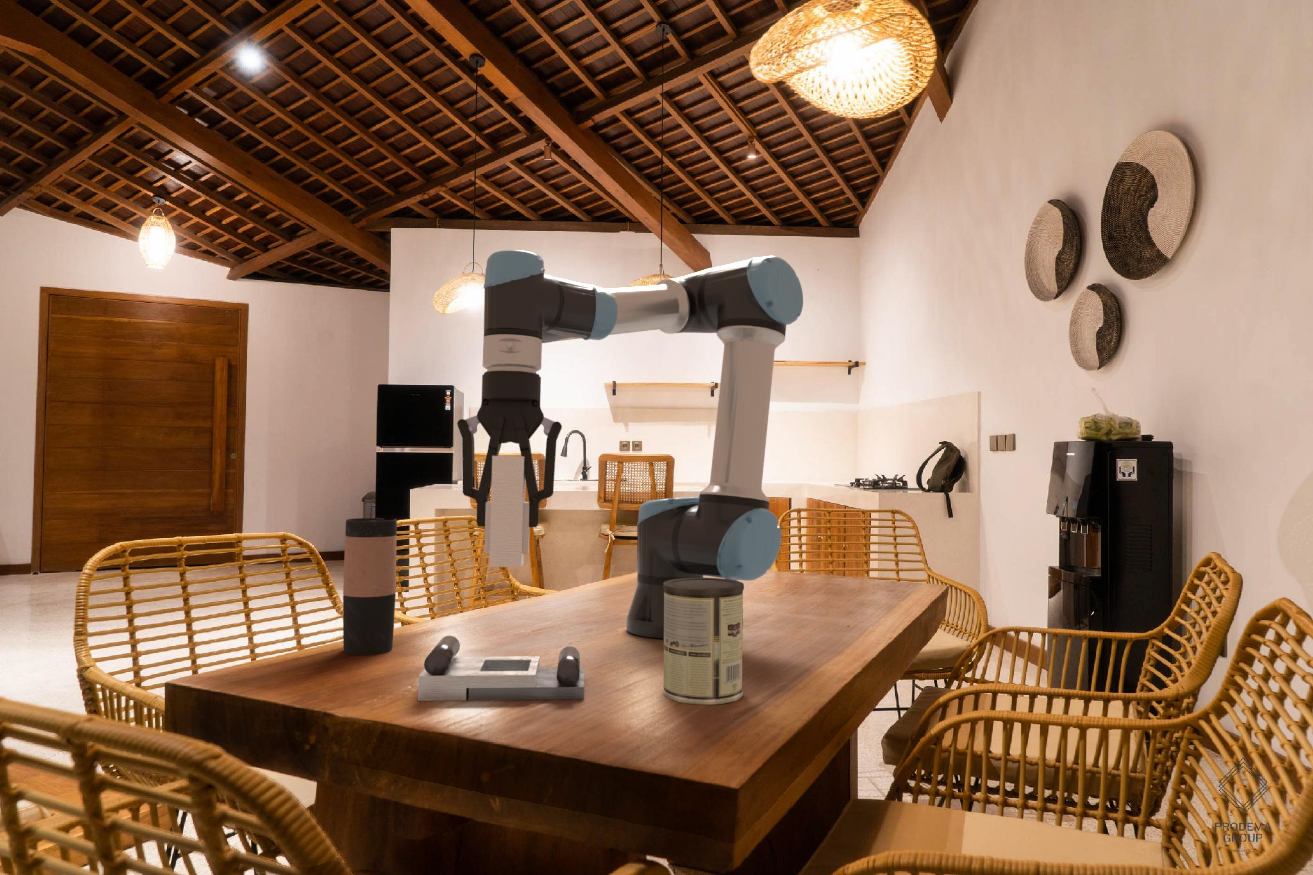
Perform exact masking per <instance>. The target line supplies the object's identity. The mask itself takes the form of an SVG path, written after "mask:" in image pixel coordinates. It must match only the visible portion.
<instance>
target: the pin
mask: <svg viewBox="0 0 1313 875" xmlns="http://www.w3.org/2000/svg"><path fill="white" fill-rule="evenodd" d="M524 461H525V457H524V456H521V455H519V456H515V455H498V456H492V484H491V488H490V492H491V493H490V495H491V496H490V501H491V521H490V554H489V561H488V562H489V563H488V566H489V567H490V568H522V567H523V565H524V562H525V561H524V557H525V554H522V534H523V503H524V502H526V489H527V485H526V479H525V474H524Z"/></svg>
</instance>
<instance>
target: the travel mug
mask: <svg viewBox="0 0 1313 875" xmlns="http://www.w3.org/2000/svg"><path fill="white" fill-rule="evenodd" d="M397 522H398V520H397V518H394V519H392V520H391V519H390V520H385V519H384V518H381V517H360V518H359V517H358V518H347V519H346V520H345V536H344V538H345V539H344V558H343V586H342V588H343V589H342V594H343V595H342V610H343V611H342V614H343V615H342V619H343V620H342V622H343V624H342V626H343V629H342V630H343V631H342V634H343V636H342V637H343V638H342V640H343V648H342V649H343V652H344V653H345V654H347V655H354V656H370V655H378V654H379V655H380V654H385V653H388V652H390V651H392V649H393V647H394V646H393V642H394V629H395V612H396V610H395V609H396V593H397V592H396V590H397V589H396V588H397V584H396V582H397V539H398V537H397V535H398V534H397V529H398V526H397V524H398V523H397Z"/></svg>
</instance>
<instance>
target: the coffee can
mask: <svg viewBox="0 0 1313 875" xmlns="http://www.w3.org/2000/svg"><path fill="white" fill-rule="evenodd" d="M663 588H664V638H663V686H662V687H663V689H662V694H663V696H664V697H665V698H667V699H669V700H671V701H674V702H677V703H683V704H689V705H701V706H704V705H705V706H707V705H708V706H711V705H712V706H713V705H723V704H725V705H726V704H729V703H733V702H736V701H738V700H740V699H741V698H742V697H743V696H744V693H743V692H744V691H743V638H744V637H743V636H744V635H743V628H744V622H743V621H744V615H743V614H744V607H743V606H744V602H743V600H744V598H743V597H744V595H743V594H744V593H743V592H744V589H745V584H744V582H742V581H740V580H737V581H736V580H730V579H725V578H718V577H703V578H679V579H672V580H668V581H665V582H664V583H663Z"/></svg>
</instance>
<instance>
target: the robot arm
mask: <svg viewBox="0 0 1313 875" xmlns="http://www.w3.org/2000/svg"><path fill="white" fill-rule="evenodd" d="M544 262H545V261H544V259H543V258H542V256H540V255H538V254H536V253H535V252H533V251H527V250H522V249H504V250H503V249H502V250H499V251H496V252H492V254H490V255H489V256H488V258H487V259H486V267H485V274H484V276H485V277H484V282H483V283H484V284H483V289H484V300H483V301H484V302H483V306H484V307H483V310H484V312H483V317H484V318H483V340H482V341H483V344H482V345H483V346H482V347H483V348H482V367H483V369H485V370H486V371H485V372H483V374H482V376H481V378H482V379H481V405H480V407H479V409H478V410H477V414H476V415H474V416H471V417H469V418H466V419H464V418H462V419H461V418H460V419H458V421H457V423H456V425H457V428H458V431H459V433H460V435H461V438H462V439H461V443H462V444H461V448H462V449H461V452H462V456H461V457H462V458H461V460H462V464H461V465H462V494H463V496H465V497H469V498H471V499H473V500H474V501H476V524H477V527H480V528H481V527H484V549H483V550H484V553H483V554H485V555H486V554H489V555H490V521H491V500H490V501H489V498H490V497H489V496H490V494H491V493H490V492H491V485H492V456H500V455H499V454H500V450H501V448H502V444H508V443H513V444H516V445H518V447H519V451H520V452H519V453H520V456H524V457H525V461H524V474H525V479H526V489H527V494H528V495H527V496H528V501H525V502H524V503H523V534H522V554H524V555H528V554H529V553H530V540H531V539H530V538H531V537H530V536H531V535H530V534H531V533H530V531H531V528H537V527H538V525H539V519H540V518H539V517H540V503H541V501H543V500H546V499H548V498H552V496H553V495H554V489H555V488H554V487H555V486H554V485H555V474H556V472H555V471H556V470H555V469H556V454H557V453H556V452H557V441H558V438H559V436H560V434H561V431H562V429H563V426H562V424H561V422H560V421H555V420H552V419H549V418H547V417H545V414H544V412H543V410H542V408H541V394H542V393H541V391H542V390H541V387H542V385H541V384H542V383H541V382H542V377H541V376H540V374H538V373H537V372H539V371H540V370H541V369H542V352H543V350H542V349H543V344H547V343H552V342H560V341H571V340H579V339H583V340H584V341H588V340H593V341H595V340H596V341H600V340H603V339H606V338H607V337H609V336H612V335H613V336H614V335H621V334H630V333H637V332H639V333H640V332H648V331H655V330H660V331H661V332H663V333H665V334H668V335H669V334H671V335H673V334H682V333H683V334H684V333H690V334H691V333H697V334H699V333H700V334H716V336H717V337H718V339H719V340H720V341H721V342H722V343H723V345H724V346H723V352H722V353H723V355H722V364H721V374H720V382H719V383H720V385H719V394H718V401H717V402H718V404H717V412H716V422H715V429H714V431H715V432H714V441H713V451H712V460H711V467H710V468H711V470H710V477H709V478H710V480H709V484H708V485H707V486H706V487H704V489H702V490H701V491H700V492H699V494H698V495H699V496H698V497H697V496H691V497H690V496H685V497H673V498H661V499H654V500H653V499H652V500H648V501H644V502H643V503H642V504H641V505H640V506H639V509H638V517H637V518H638V519H637V524H636V527H637V528H636V529H637V531H636V533H637V534H636V535H637V538H636V540H637V541H636V543H637V544H636V546H637V548H636V549H637V550H636V553H637V554H636V555H637V556H636V558H637V564H636V568H637V571H636V572H637V575H636V578H637V579H636V580H637V582H636V583H637V584H636V589H635V592H634V594H633V596H632V597H633V598H632V600H631V604H630V607H629V609H628V613H627V616H626V631H627V632H628V633H629V634H632V635H636V636H639V637H640V636H641V637H644V638H646V637H647V638H655V639H664V588H663V583H664V582H665V581H668V580H672V579H679V578H704V576H706V577H710V578H721V579H730V580H736V581H746V582H747V581H755V580H758V579H759V578H761V577H763V576H764V575H766V573H767V572H768V570H770V569H771V568H772V566H773V565H774V564H775V562H776V560H777V558H778V555H779V552H780V549H781V544H782V543H781V542H782V529H781V526H780V525H779V520H778V517H777V516H776V515H775V513H773V512H772V511H770V499H769V498H768V496H767V495H766V494H765V493H764V492H763V490H762V487H763V475H764V465H765V454H766V444H767V435H768V434H767V433H768V423H769V414H770V403H771V392H772V385H773V384H772V383H773V374H774V373H773V372H774V365H775V364H774V361H775V352H776V349H777V348H778V347H779V346H780V345H781V344H783V343H784V342H785V340H786V332H787V325H791V324H793V323H795V322H796V321H797V320H798V318H799V317H800V316H801V314H802V312H803V307H804V293H803V288H802V287H803V286H802V285H801V282H800V278H799V277H798V275H797V273H796V271H795V270H794V268H793V267H792V266H791V264H789V263H788V261H786V260H785V259H783V258H781V257H779V256H776V255H767V256H754V257H751V258H750V259H746V260H741V261H737V262H733V263H729V264H723V265H719V266H713V267H709V268H706V269H703V270H700V271H696V272H693V273H690V274H686V275H683V276H679V277H675V278H674V277H673V278H663V279H662V280H659V281H658V282H657V283H656V284H654V285H646V286H645V285H644V286H632V287H630V286H629V287H616V288H603V287H600V286H596V285H595V284H593V283H585V282H583V283H582V282H578V281H573V280H569V279H564V278H560V277H554V276H551V275H548V274H545V273H546V272H545V271H546V269H545V263H544ZM479 424H480V425H481V426H482V428H483V429H484V430H485V432H486V433H487V435H488V436H489V438H490V439H489V442H488V446H487V453H486V457H485V461H484V463H483V464H484V465H483V469H482V474H481V477H480V481H479V485H478V489H477V488H476V487H475V486H476V484H475V483H476V482H475V477H476V476H475V474H476V473H475V471H476V470H475V468H476V467H475V434H476V433H477V432H478V425H479ZM541 425H542V426H543V434H544V435H545V436H546V437H547V438H546V442H545V459H544V473H543V488H542V489H541V490H539V487H538V482H537V477H536V476H537V475H536V471H535V465H534V459H533V454H532V448H531V440H530V439H531V438H532V436H533V435H534V434H535V433H536V432H537V430H538V429H539V427H540V426H541Z"/></svg>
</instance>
